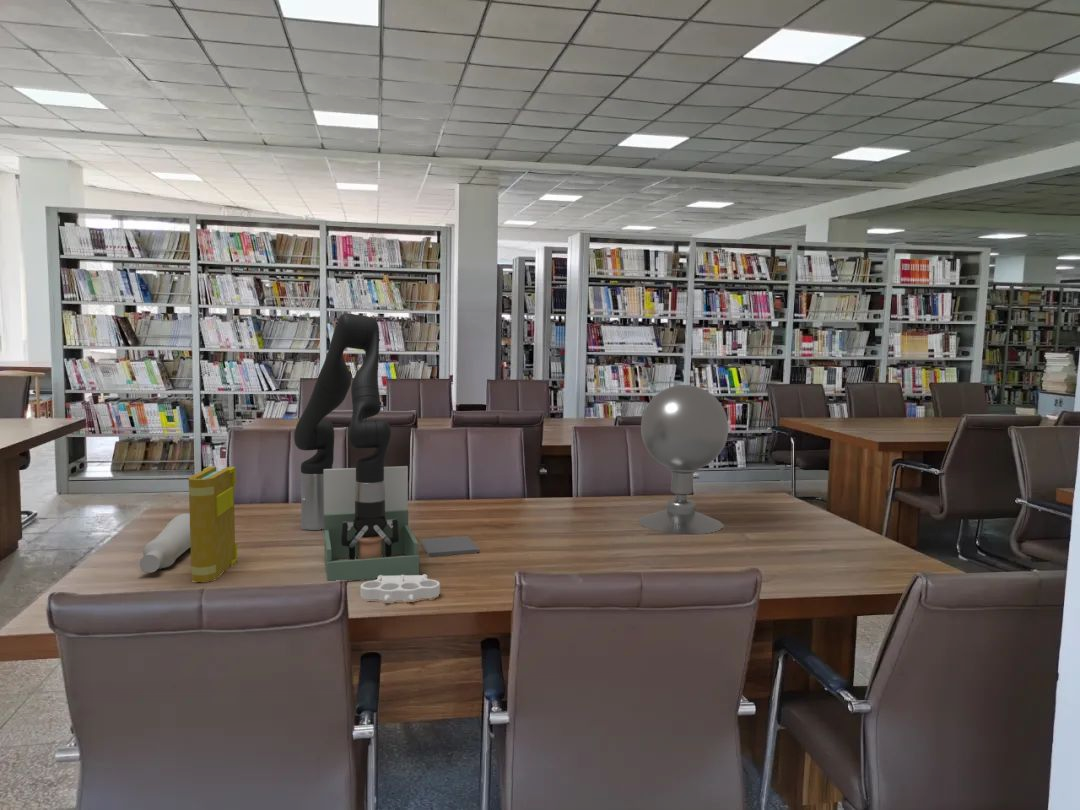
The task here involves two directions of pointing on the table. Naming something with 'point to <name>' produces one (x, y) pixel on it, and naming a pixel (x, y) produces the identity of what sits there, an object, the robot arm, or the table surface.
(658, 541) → the table surface
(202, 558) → the book
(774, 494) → the table surface
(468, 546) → the slate pad
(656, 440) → the desk lamp
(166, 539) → the bottle
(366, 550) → the pot
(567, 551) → the table surface
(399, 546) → the box
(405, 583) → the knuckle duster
